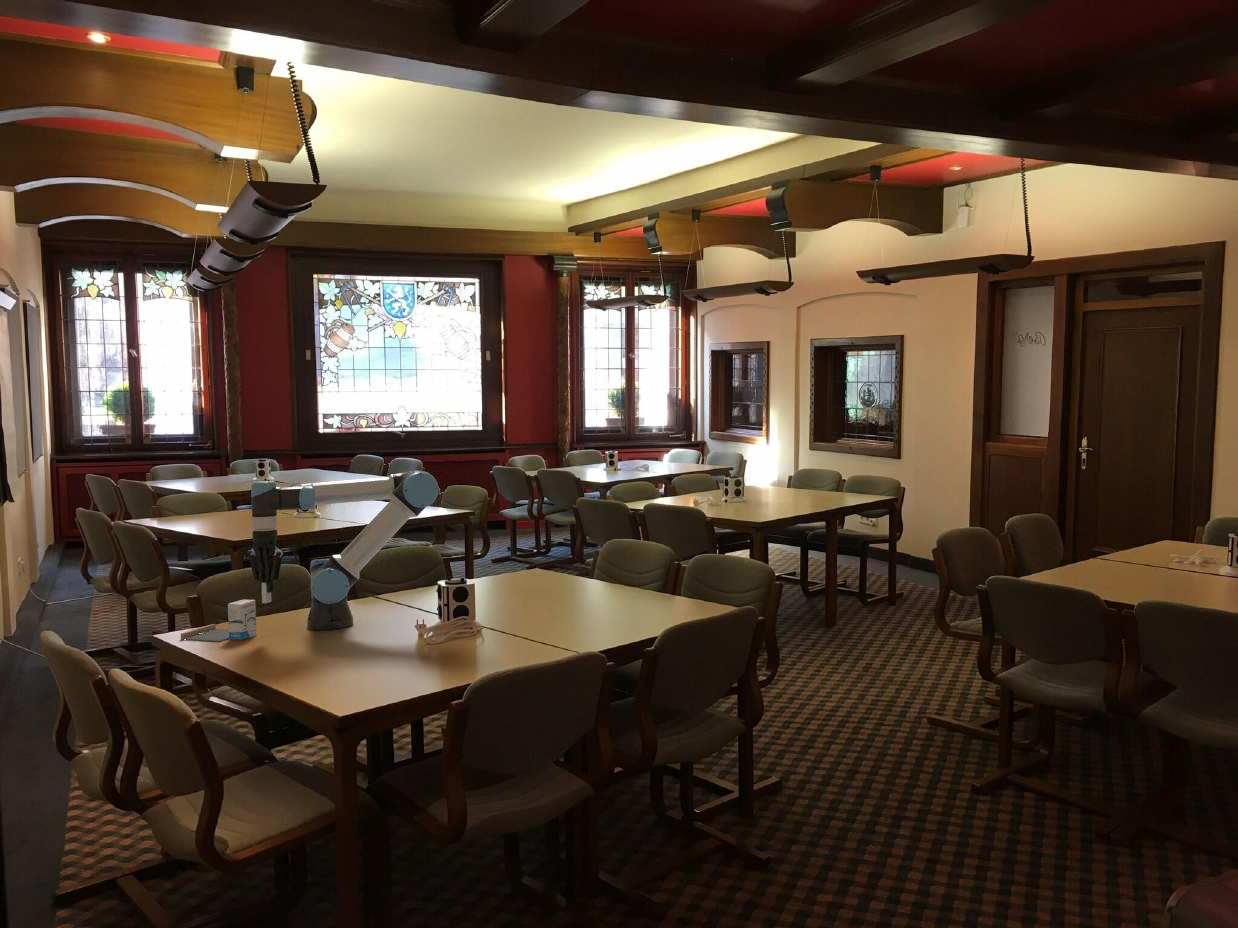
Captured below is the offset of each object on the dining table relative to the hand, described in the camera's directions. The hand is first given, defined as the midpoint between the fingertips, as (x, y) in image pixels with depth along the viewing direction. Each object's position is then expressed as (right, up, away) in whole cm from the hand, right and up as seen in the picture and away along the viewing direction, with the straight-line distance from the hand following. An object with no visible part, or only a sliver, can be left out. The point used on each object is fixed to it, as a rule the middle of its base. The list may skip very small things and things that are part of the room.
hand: (266, 602), depth 305 cm
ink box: (-9, -12, +4) cm, 16 cm away
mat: (-19, -12, +7) cm, 23 cm away
